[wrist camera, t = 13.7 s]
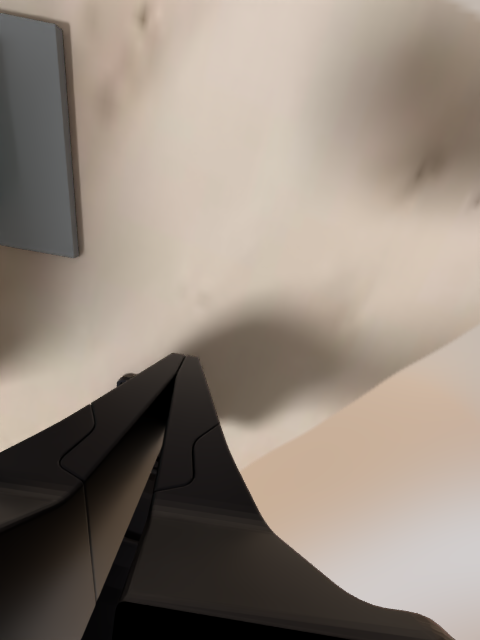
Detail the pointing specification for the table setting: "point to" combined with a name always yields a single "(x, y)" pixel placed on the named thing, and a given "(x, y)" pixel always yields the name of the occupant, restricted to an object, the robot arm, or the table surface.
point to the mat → (35, 140)
